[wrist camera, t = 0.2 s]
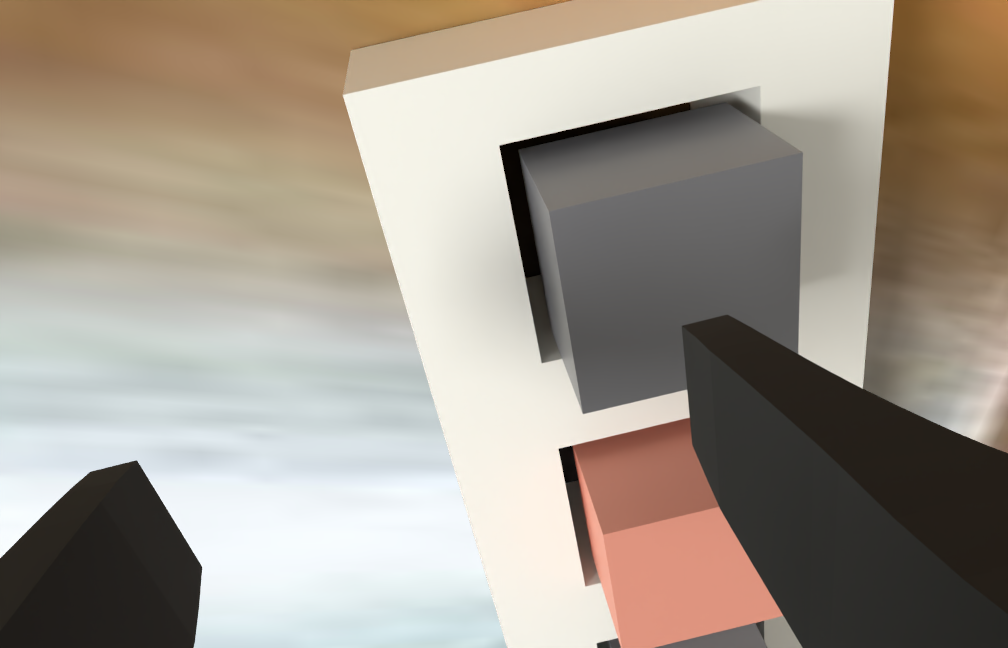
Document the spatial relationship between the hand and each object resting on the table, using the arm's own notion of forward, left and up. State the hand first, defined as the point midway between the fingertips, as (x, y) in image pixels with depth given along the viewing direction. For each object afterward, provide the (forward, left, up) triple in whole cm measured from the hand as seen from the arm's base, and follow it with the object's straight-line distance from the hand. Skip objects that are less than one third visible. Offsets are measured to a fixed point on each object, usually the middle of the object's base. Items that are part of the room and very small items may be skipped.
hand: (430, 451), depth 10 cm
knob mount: (-8, -5, -10) cm, 13 cm away
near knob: (-1, -5, -7) cm, 8 cm away
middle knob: (-8, -5, -6) cm, 11 cm away
